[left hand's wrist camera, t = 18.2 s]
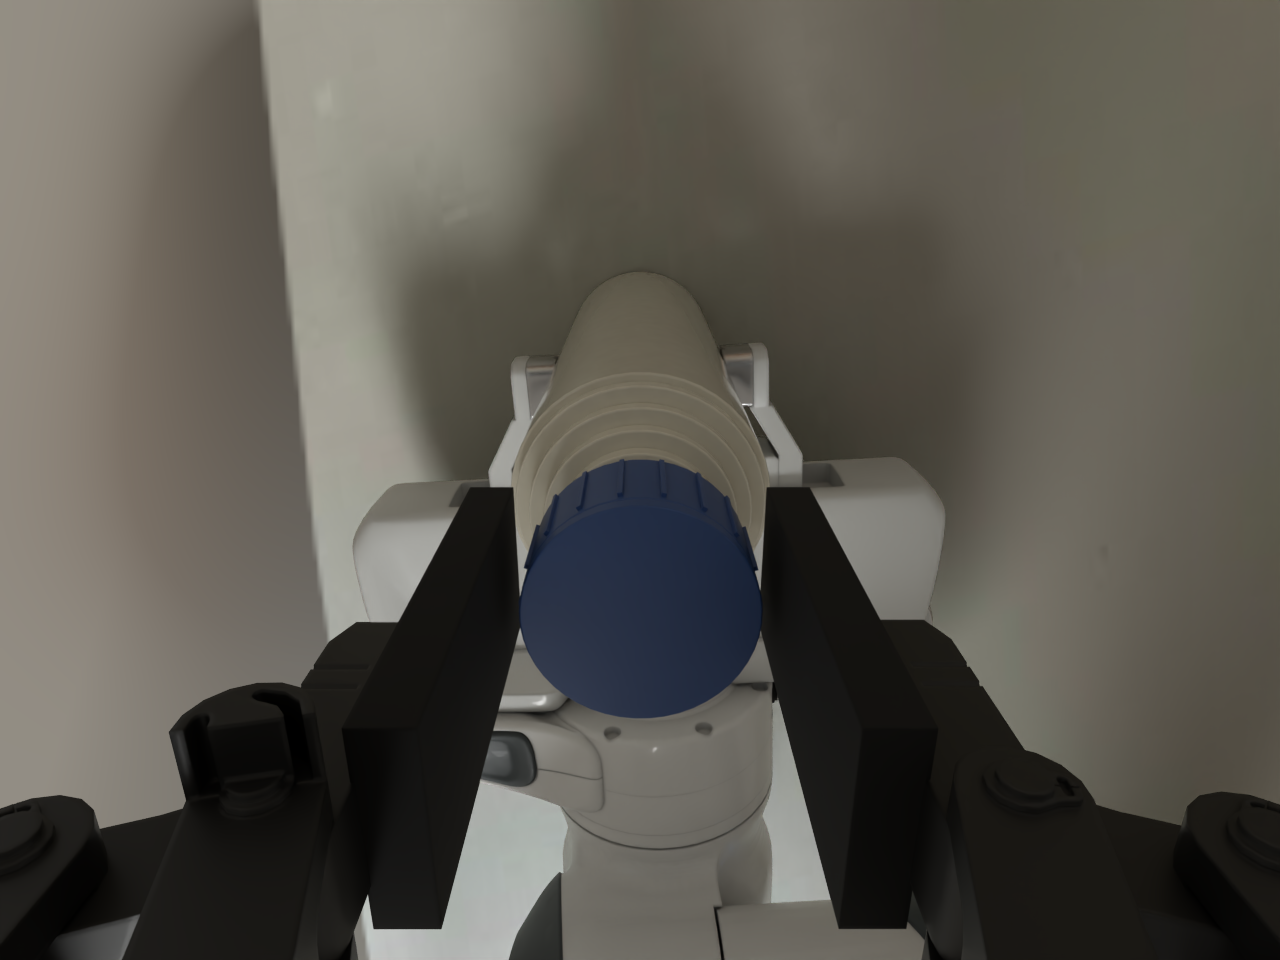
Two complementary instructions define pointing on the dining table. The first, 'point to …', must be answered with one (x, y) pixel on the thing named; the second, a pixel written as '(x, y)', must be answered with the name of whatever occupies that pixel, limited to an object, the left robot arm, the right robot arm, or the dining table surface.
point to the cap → (640, 591)
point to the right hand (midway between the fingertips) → (637, 352)
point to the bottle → (640, 402)
